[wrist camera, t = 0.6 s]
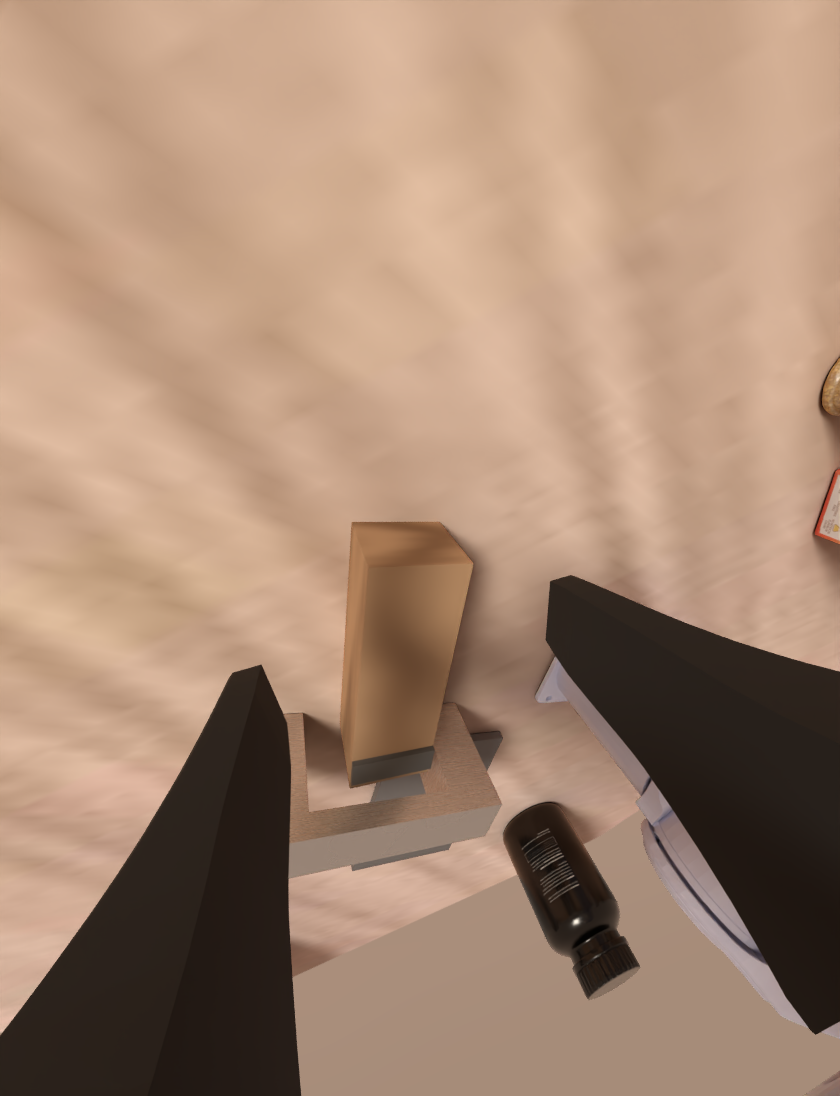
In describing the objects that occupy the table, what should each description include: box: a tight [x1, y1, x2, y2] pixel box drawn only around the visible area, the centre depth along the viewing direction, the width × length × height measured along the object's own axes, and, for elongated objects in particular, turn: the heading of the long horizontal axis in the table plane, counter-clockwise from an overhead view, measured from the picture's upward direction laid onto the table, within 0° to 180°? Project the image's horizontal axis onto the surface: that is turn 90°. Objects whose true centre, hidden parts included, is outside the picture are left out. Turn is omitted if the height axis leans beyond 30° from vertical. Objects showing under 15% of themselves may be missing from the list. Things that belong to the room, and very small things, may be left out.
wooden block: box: [340, 522, 474, 788], centre depth 21 cm, size 4×14×5 cm, turn 173°
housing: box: [283, 703, 502, 878], centre depth 23 cm, size 13×3×7 cm, turn 75°
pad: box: [351, 731, 503, 871], centre depth 32 cm, size 9×15×1 cm, turn 165°
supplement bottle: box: [503, 803, 640, 1000], centre depth 35 cm, size 7×7×12 cm
